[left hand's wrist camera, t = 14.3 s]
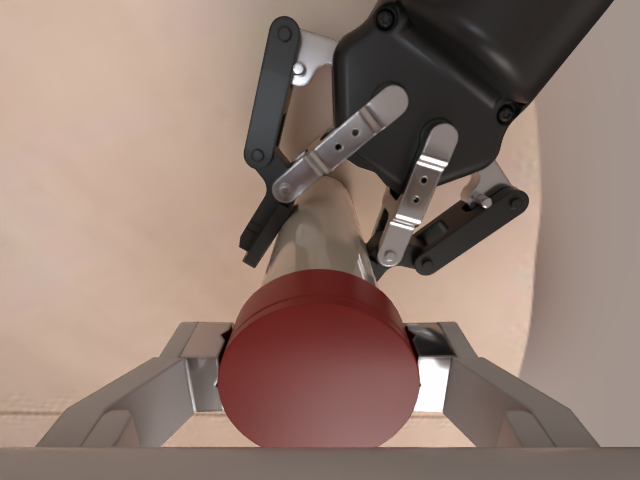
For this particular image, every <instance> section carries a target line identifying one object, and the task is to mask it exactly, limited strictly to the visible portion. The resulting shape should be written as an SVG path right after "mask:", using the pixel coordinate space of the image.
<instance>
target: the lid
mask: <svg viewBox="0 0 640 480" xmlns="http://www.w3.org/2000/svg"><path fill="white" fill-rule="evenodd" d="M217 381H218V392H219V397H220V401H221V404H222V406H223V408H224V411H225V413H226V414H227V416H228V418H229V419H230V421H231V422H232V423H233V424H234V426H235V427H236V428H237V429H238V430H239V431H240V432H241V433H242V434H243V435H244V436H246V437H247V438H248V439H250V440H251V441H252V442H254V443H255V444H257V445H259V446H260V447H378V446H379V445H381V444H383V443H384V442H386V441H387V440H388V439H390V438H391V437H392V436H394V435H395V434H396V433H397V432H398V431H399V430H400V429H401V428H402V427H403V426H404V424H405V423H406V422H407V420H408V419H409V417H410V416H411V414H412V412H413V410H414V408H415V405H416V403H417V400H418V395H419V391H420V374H419V368H418V364H417V361H416V358H415V355H414V352H413V350H412V347H411V344H410V341H409V339H408V336H407V333H406V331H405V328H404V325H403V322H402V320H401V317H400V315H399V313H398V311H397V309H396V308H395V306H394V305H393V303H392V302H391V300H390V299H389V298H388V297H387V296H386V295H385V294H384V293H383V292H382V291H381V290H379V289H378V288H377V287H376V286H374V285H373V284H371V283H369V282H368V281H366V280H364V279H362V278H360V277H357V276H355V275H352V274H349V273H346V272H342V271H337V270H331V269H307V270H301V271H296V272H292V273H289V274H286V275H283V276H281V277H278V278H276V279H274V280H272V281H270V282H269V283H267V284H265V285H264V286H262V287H261V288H260V289H259V290H257V291H256V292H255V293H254V294H253V295H252V296H251V297H250V298H249V299H248V300H247V302H246V303H245V305H244V306H243V308H242V309H241V311H240V313H239V315H238V317H237V320H236V322H235V325H234V328H233V330H232V333H231V335H230V338H229V341H228V343H227V346H226V349H225V351H224V354H223V357H222V359H221V363H220V366H219V370H218V379H217Z"/></svg>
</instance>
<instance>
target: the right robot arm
mask: <svg viewBox="0 0 640 480" xmlns="http://www.w3.org/2000/svg"><path fill="white" fill-rule="evenodd" d="M613 1H614V0H379V1H378V2H377V4H376V6H375V7H374V9H373V10H372V12H371V14H370V15H369V17H368V19H367V20H366V21H365V22H364V23H363V24H362V25H360V26H359V27H358V28H356V29H355V30H353V31H351V32H350V33H348V34H346V35H345V36H344V37H343V38H342V39H341V40H340V41H336V40H333V39H330V38H327V37H324V36H321V35H318V34H315V33H312V32H308V31H305V30H302V29H300V28H299V26H298V24H297V23H296V22H295V20H293V19H292V18H290V17H287V16H281V17H278V18H277V19H275V20H274V21H273V22H272V24H271V26H270V29H269V34H268V39H267V44H266V48H265V53H264V58H263V63H262V68H261V72H260V77H259V82H258V87H257V92H256V96H255V101H254V106H253V111H252V116H251V120H250V125H249V130H248V135H247V140H246V144H245V149H244V159H245V161H246V163H247V164H248V165H249V166H250V167H252V168H254V169H256V171H257V172H258V173H259V174H260V176H261V177H262V178H263V179H264V181H265V183H266V187H267V192H266V196H265V197H264V199H263V201H262V202H261V204H260V205H259V207H258V209H257V210H256V212H255V214H254V215H253V217H252V218H251V220H250V222H249V223H248V225H247V227H246V228H245V230H244V232H243V233H242V235H241V237H240V245H239V247H240V248H242V249H244V250H246V251H247V253H246V255H245V257H244V259H243V261H242V262H244V263H246V264H248V265H249V266H251V267H253V268H255V267H256V266H257V264H258V263H259V261H260V260H261V258H262V257H263V255H264V254H265V252H266V251H267V249H268V248H269V246H270V244H271V243H272V241H273V240H274V238H275V237H276V235H277V234H278V232H279V230H280V229H281V227H282V225H283V224H284V223H285V221H286V220H287V218H288V217H289V215H290V214H291V212H292V210H293V206H294V202H295V199H296V198H297V197H299V196H300V195H301V194H302V193H303V192H305V191H306V190H307V189H308V188H309V187H311V186H312V185H313V184H314V183H315V182H317V181H318V180H319V179H320V178H322V177H323V176H325V175H327V174H329V173H330V172H331V171H333V170H334V169H335V168H336V167H338V166H339V165H340V164H341V163H342V162H344V161H345V160H346V159H348V160H349V161H351V162H352V163H354V164H355V165H357V166H358V167H361V168H364V169H367V170H370V171H373V172H375V173H376V174H377V175H378V176H379V177H380V178H381V180H382V181H383V182H384V183H385V184H386V186H387V188H386V190H385V193H384V196H383V201H382V208H381V211H380V213H379V216H378V219H377V221H376V224H375V227H374V230H373V232H372V235H371V239H370V240H369V241H368V243H367V244H366V243H365V245H366V248H367V252H368V255H369V258H370V261H371V265H372V268H373V271H374V275H375V278H376V281H378V280H379V279H380V278H381V276H382V275H383V274H384V273H385V272H386V270H388V269H389V268H391V267H394V266H404V267H409V268H413V269H416V271H417V272H418V273H419V274H421V275H431V274H433V273H435V272H436V271H437V270H439V269H440V268H442V267H443V266H445V265H446V264H448V263H449V262H451V261H452V260H454V259H455V258H457V257H458V256H460V255H461V254H462V253H464V252H465V251H467V250H468V249H470V248H471V247H473V246H474V245H476V244H477V243H479V242H480V241H482V240H483V239H485V238H486V237H487V236H489V235H490V234H492V233H493V232H495V231H496V230H498V229H499V228H501V227H502V226H504V225H505V224H507V223H508V222H510V221H511V220H512V219H514V218H515V217H517V216H518V215H520V214H521V213H523V212H524V211H525V210H526V208H527V207H528V204H529V198H528V195H527V194H526V193H525V192H523V191H521V190H519V189H517V188H516V187H514V186H512V185H511V183H510V182H509V180H508V179H507V177H506V176H505V174H504V173H503V171H502V170H501V168H500V167H499V165H498V163H497V162H496V160H495V159H496V157H497V156H498V154H499V151H500V147H501V143H502V140H503V137H504V134H505V132H506V130H507V128H508V126H509V125H510V124H511V122H512V121H513V120H514V119H515V118H516V117H517V116H518V115H519V114H520V113H521V112H522V111H523V110H524V109H525V108H526V107H527V106H528V105H529V104H530V103H531V102H532V101H533V99H534V98H535V97H536V96H537V95H538V93H539V92H540V91H541V90H542V88H543V87H544V86H545V85H546V83H547V82H548V81H549V80H550V78H551V77H552V76H553V75H554V74H555V72H556V71H557V70H558V69H559V67H560V66H561V65H562V64H563V63H564V61H565V60H566V59H567V58H568V56H569V55H570V54H571V53H572V51H573V50H574V49H575V48H576V47H577V45H578V44H579V43H580V42H581V40H582V39H583V38H584V37H585V36H586V34H587V33H588V32H589V31H590V29H591V28H592V27H593V26H594V25H595V23H596V22H597V21H598V20H599V18H600V17H601V16H602V15H603V13H604V12H605V11H606V10H607V8H608V7H609V6H610V5H611V3H612V2H613ZM324 66H329V67H332V97H333V125H332V126H331V127H329V128H328V129H327V130H326V131H325V132H324V133H323V134H321V135H320V136H319V137H318V138H317V139H316V140H315V141H313V142H312V143H311V144H310V145H309V146H308V147H307V148H306V149H305V150H304V151H303V152H302V153H301V154H299V155H298V156H297V157H296V158H295V159H294V160H293V161H291V162H289V161H288V159H287V158H286V157H285V156H284V154H283V153H282V152H281V150H280V149H279V144H280V140H281V136H282V131H283V127H284V123H285V119H286V115H287V111H288V107H289V103H290V98H291V94H292V90H293V86H294V85H296V86H305V85H307V84H309V83H310V82H311V80H312V79H313V76H314V74H315V72H316V71H317V70H318V69H319V68H321V67H324ZM470 174H471V180H470V182H469V183H468V184H467V185H466V186H465V187H464V188H463V190H462V192H461V200H460V201H459V202H457V203H456V204H454V205H453V206H452V207H450V208H449V209H447V210H446V211H445V212H443V213H442V214H441V215H439V216H438V217H436V218H435V219H434V220H432V221H431V222H430V223H428V224H427V225H425V226H424V227H423V228H421V229H420V230H418V231H417V232H416V233H414V234H413V235H412V233H413V231H414V229H415V228H416V227H418V226H419V225H420V223H421V222H422V219H423V217H424V215H425V212H426V210H427V208H428V205H429V203H430V200H431V198H432V196H433V193H434V191H435V188H436V187H437V186H439V185H442V184H445V183H448V182H451V181H453V180H456V179H459V178H462V177H465V176H467V175H470ZM414 198H416V199H415V200H414Z"/></svg>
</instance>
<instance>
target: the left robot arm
mask: <svg viewBox="0 0 640 480" xmlns="http://www.w3.org/2000/svg"><path fill="white" fill-rule="evenodd" d="M403 325H404V328H405V331H406V333H407V336H408V339H409V341H410V344H411V347H412V350H413V352H414V355H415V358H416V361H417V364H418V368H419V374H420V391H419V395H418V400H417V403H416V405H415V408H414V410H413V411H430V412H443V414H444V415H445V416H446V417H447V418H448V419H449V420H450V421H451V422H452V423H453V424H454V425H455V426H456V427H457V428H458V429H459V430H460V431H461V432H462V433H463V434H464V435H465V436H466V437H467V438H468V439H469V440H470V441H471V442H472V443H473V444H474V445H475V446H476V447H161V446H162V445H163V444H164V443H165V442H166V441H167V440H168V439H169V438H170V437H171V436H172V435H173V434H174V433H175V432H176V431H177V430H178V429H179V428H180V427H181V426H182V425H183V424H184V423H185V422H186V421H187V420H188V419H189V418H190V417H191V416H192V415H193V414H194V412H206V411H224V408H223V406H222V404H221V401H220V397H219V392H218V381H217V379H218V370H219V366H220V363H221V359H222V357H223V354H224V351H225V349H226V346H227V343H228V341H229V338H230V335H231V333H232V330H233V328H234V323H229V322H182V323H180V324H179V326H178V328H177V329H176V331H175V332H174V334H173V336H172V337H171V339H170V340H169V342H168V344H167V345H166V347H165V348H164V350H163V351H162V353H161V355H160V356H159V357H155V358H152V359H150V360H148V361H147V362H145V363H143V364H142V365H140V366H138V367H137V368H135V369H133V370H131V371H130V372H128V373H126V374H125V375H123V376H121V377H120V378H118V379H116V380H114V381H113V382H111V383H109V384H108V385H106V386H104V387H103V388H101V389H99V390H97V391H96V392H94V393H92V394H91V395H89V396H87V397H86V398H84V399H82V400H80V401H79V402H77V403H75V404H74V405H72V406H70V407H69V408H67V409H66V410H65V411H64V412H63V414H62V415H61V416H60V417H59V418H58V420H57V421H56V422H55V423H54V425H53V426H52V427H51V428H50V429H49V431H48V432H47V433H46V434H45V435H44V437H43V438H42V439H41V440H40V442H39V443H38V444H37V445H36V446H35V447H0V480H640V447H600V446H599V444H598V443H597V442H596V441H595V439H594V438H593V437H592V436H591V434H590V433H589V432H588V431H587V429H586V428H585V427H584V426H583V424H582V423H581V422H580V421H579V419H578V418H577V417H576V416H575V414H574V413H573V412H572V411H571V410H570V409H569V408H567V407H566V406H564V405H562V404H561V403H559V402H557V401H556V400H554V399H552V398H551V397H549V396H547V395H546V394H544V393H542V392H540V391H539V390H537V389H535V388H534V387H532V386H530V385H529V384H527V383H525V382H524V381H522V380H520V379H519V378H517V377H515V376H514V375H512V374H510V373H509V372H507V371H505V370H504V369H502V368H500V367H498V366H497V365H495V364H493V363H492V362H490V361H488V360H487V359H485V358H482V357H478V356H477V355H476V353H475V352H474V350H473V348H472V347H471V345H470V344H469V342H468V340H467V339H466V337H465V336H464V334H463V332H462V331H461V329H460V328H459V326H458V324H457V323H455V322H437V323H403Z"/></svg>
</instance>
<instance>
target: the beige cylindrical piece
mask: <svg viewBox="0 0 640 480" xmlns="http://www.w3.org/2000/svg"><path fill="white" fill-rule="evenodd" d="M307 269H331V270H337V271H342V272H346V273H349V274H352V275H355V276H357V277H360V278H362V279H364V280H366V281H368V282H369V283H371V284H373V285H374V286H376V287H377V288H378V284H377V281H376V278H375V275H374V271H373V268H372V265H371V261H370V258H369V255H368V252H367V248H366V245H365V242H364V238H363V235H362V232H361V229H360V225H359V222H358V219H357V215H356V212H355V209H354V206H353V202H352V199H351V196H350V194H349V192H348V190H347V189H346V187H345V186H344V185H343V184H342V183H341V182H339V181H338V180H336V179H334V178H332V177H329V176H323V177H322V178H320V179H319V180H318V181H317V182H315V183H314V184H313V185H312V186H311V187H309V188H308V189H307V190H306V191H305V192H303V193H302V194H301V195H300V196H299V197H297V198H296V199H295V202H294V206H293V210H292V212H291V214H290V215H289V217H288V218H287V220H286V221H285V223H284V224H283V225H282V227H281V229H280V230H279V232H278V235H277V238H276V241H275V244H274V247H273V250H272V253H271V257H270V260H269V263H268V266H267V269H266V272H265V275H264V278H263V281H262V284H261V287H262V286H264V285H265V284H267V283H269V282H270V281H272V280H274V279H276V278H278V277H281V276H283V275H286V274H289V273H292V272H296V271H301V270H307ZM378 289H379V288H378Z"/></svg>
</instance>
